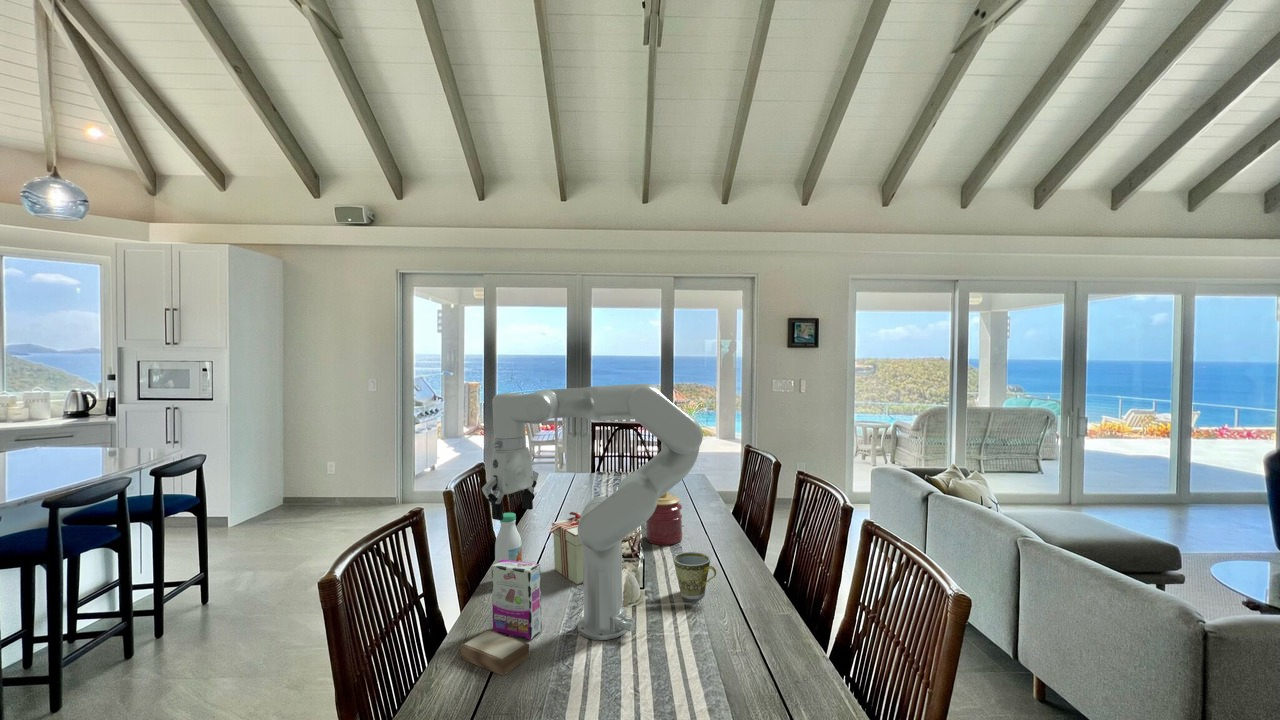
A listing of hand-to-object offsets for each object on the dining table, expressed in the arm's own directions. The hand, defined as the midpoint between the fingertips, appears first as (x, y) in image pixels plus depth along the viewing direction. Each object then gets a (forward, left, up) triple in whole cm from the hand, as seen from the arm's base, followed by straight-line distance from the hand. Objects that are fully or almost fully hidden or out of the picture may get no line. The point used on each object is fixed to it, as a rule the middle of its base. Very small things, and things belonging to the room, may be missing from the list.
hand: (513, 513), depth 135 cm
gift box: (+6, -35, -28) cm, 46 cm away
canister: (-1, -73, -28) cm, 78 cm away
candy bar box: (-2, +1, -28) cm, 28 cm away
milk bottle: (+21, -19, -28) cm, 40 cm away
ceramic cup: (-31, -38, -28) cm, 57 cm away
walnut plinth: (-6, +12, -28) cm, 31 cm away
